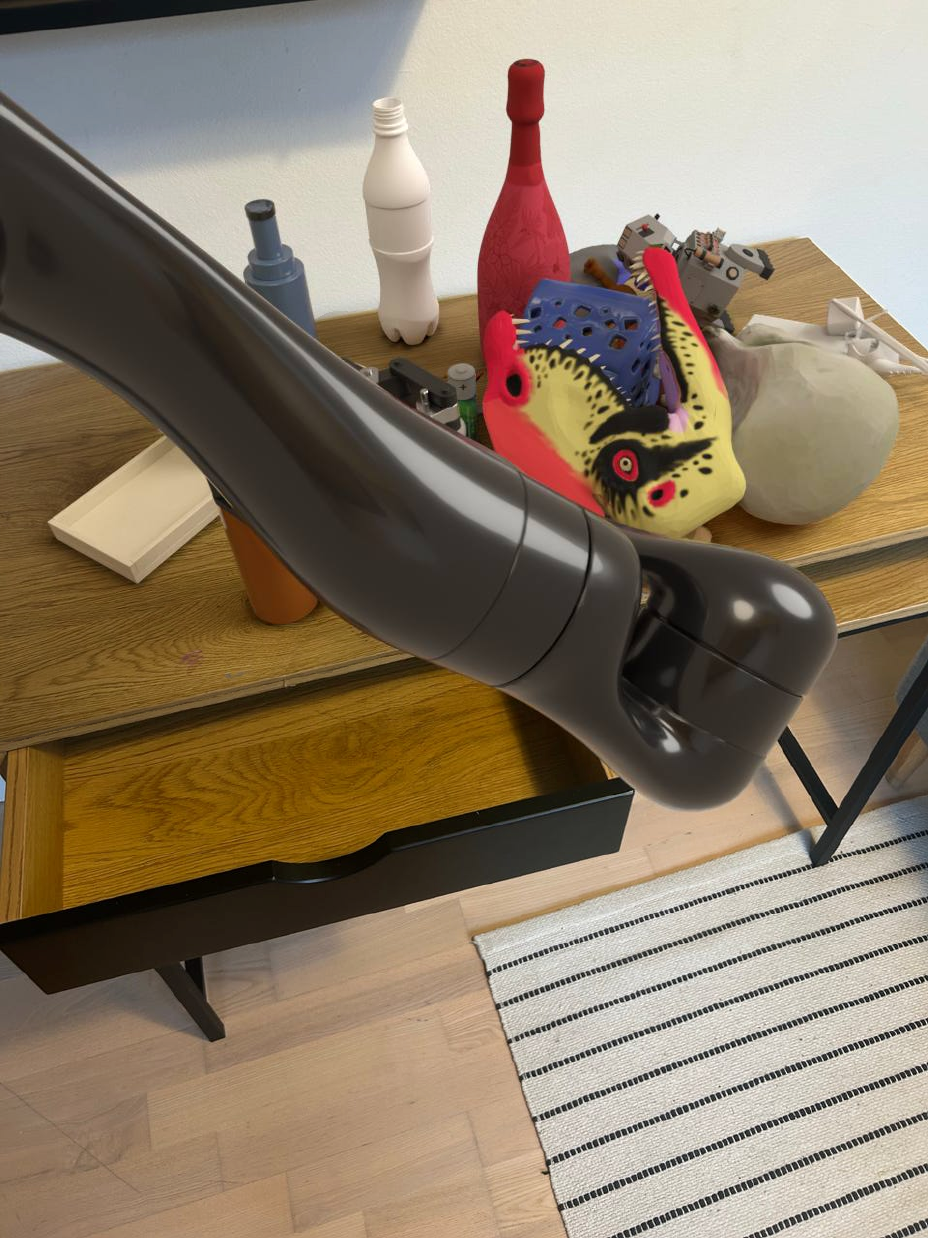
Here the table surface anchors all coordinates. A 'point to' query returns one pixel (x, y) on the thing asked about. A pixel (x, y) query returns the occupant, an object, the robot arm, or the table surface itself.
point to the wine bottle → (521, 212)
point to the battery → (465, 396)
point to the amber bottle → (265, 576)
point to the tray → (139, 512)
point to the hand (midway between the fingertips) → (268, 399)
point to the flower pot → (599, 332)
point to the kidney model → (605, 260)
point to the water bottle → (400, 228)
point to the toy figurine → (605, 279)
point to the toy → (619, 419)
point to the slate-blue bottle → (277, 268)
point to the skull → (801, 422)
